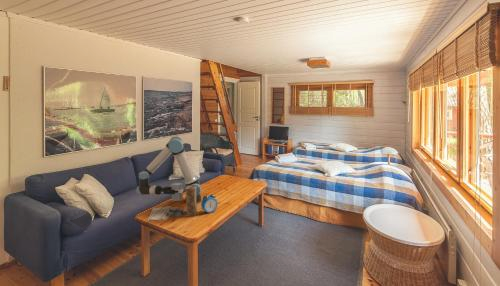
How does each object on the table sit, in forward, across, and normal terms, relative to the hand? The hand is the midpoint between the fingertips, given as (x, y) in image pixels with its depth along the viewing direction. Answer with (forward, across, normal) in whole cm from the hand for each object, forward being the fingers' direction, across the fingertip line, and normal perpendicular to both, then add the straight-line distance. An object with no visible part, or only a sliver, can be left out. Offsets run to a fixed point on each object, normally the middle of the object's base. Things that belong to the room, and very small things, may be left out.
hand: (183, 190), depth 223 cm
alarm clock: (+23, +3, -18) cm, 29 cm away
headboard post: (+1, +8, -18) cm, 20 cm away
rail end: (-5, 0, -8) cm, 10 cm away
